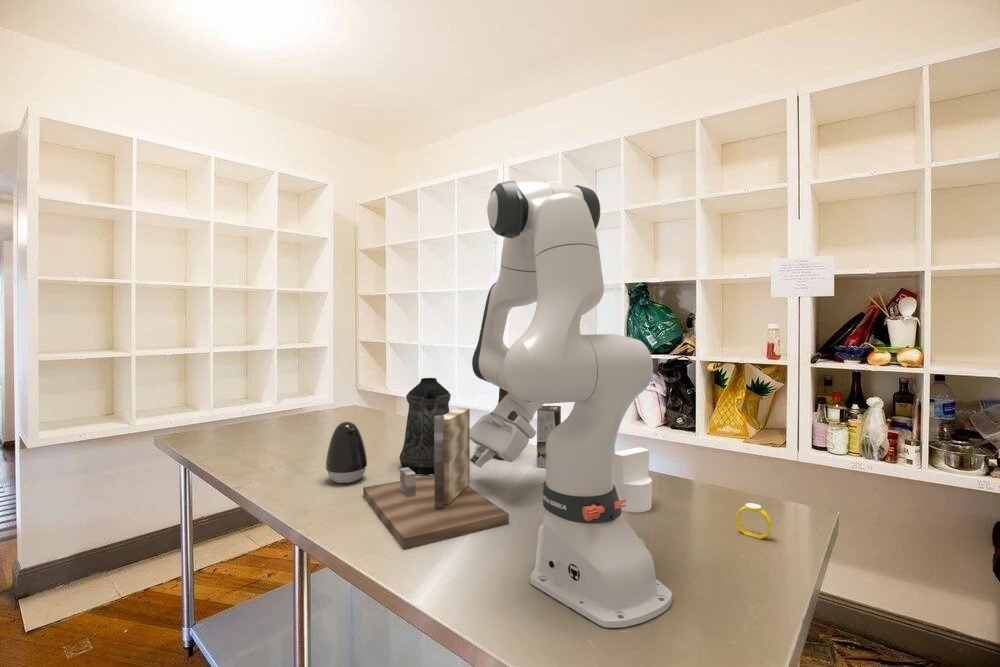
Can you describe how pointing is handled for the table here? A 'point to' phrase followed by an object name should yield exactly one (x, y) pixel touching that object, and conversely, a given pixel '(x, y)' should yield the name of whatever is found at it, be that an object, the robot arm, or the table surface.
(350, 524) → the table surface
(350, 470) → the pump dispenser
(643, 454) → the base with upright slab
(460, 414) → the wood grain panel
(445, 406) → the beer stein
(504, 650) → the table surface
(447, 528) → the wooden board with peg
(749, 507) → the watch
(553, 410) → the coffee box
